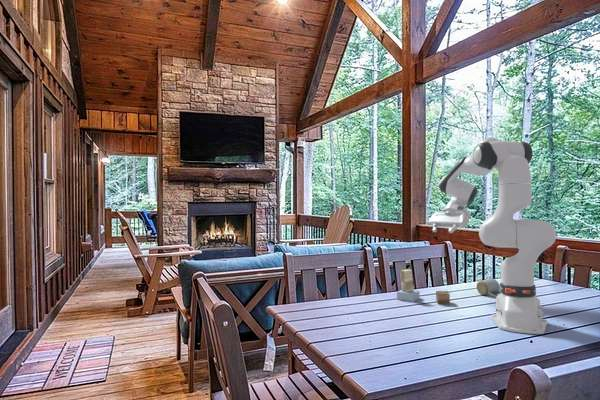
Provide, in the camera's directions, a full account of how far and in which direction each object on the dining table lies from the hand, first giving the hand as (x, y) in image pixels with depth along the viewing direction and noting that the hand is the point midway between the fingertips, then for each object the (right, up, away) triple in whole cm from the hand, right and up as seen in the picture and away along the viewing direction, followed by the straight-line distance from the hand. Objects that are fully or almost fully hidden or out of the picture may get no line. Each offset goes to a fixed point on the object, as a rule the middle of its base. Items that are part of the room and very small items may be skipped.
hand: (441, 231), depth 188 cm
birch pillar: (-19, -28, -8) cm, 35 cm away
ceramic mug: (+22, -31, -5) cm, 38 cm away
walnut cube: (-6, -31, -17) cm, 36 cm away
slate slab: (-19, -32, -8) cm, 38 cm away
